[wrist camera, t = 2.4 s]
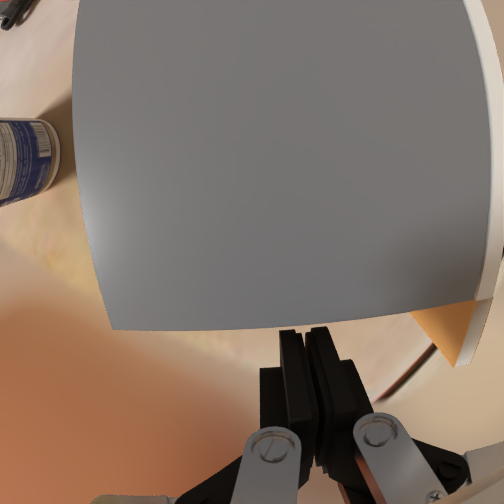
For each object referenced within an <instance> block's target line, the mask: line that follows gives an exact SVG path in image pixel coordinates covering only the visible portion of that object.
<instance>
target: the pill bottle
mask: <svg viewBox="0 0 504 504" xmlns="http://www.w3.org/2000/svg"><path fill="white" fill-rule="evenodd" d="M59 162H60V144H59V139H58V136H57V134H56V131H55V129H54V128H53V127H52V125H51V124H50V123H48V122H46V121H44V120H41V119H32V118H0V207H2V206H5V205H8V204H11V203H14V202H17V201H20V200H23V199H27V198H29V197H33V196H35V195H38V194H41V193H42V192H44V191H45V190H46V189H47V188H48V187H49V186H50V185H51V183H52V182H53V180H54V178H55V176H56V173H57V171H58V167H59Z"/></svg>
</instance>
